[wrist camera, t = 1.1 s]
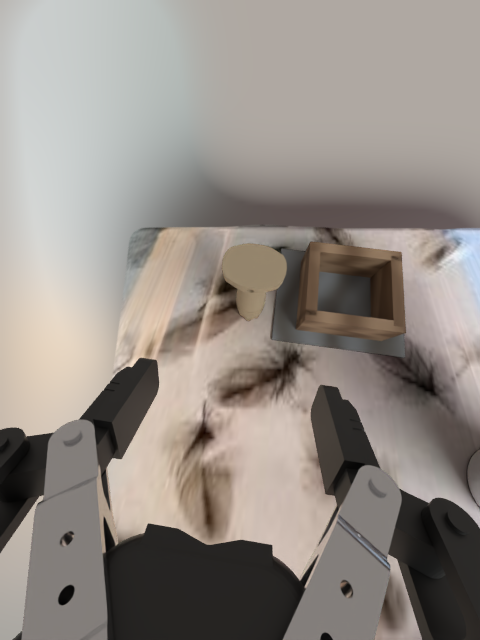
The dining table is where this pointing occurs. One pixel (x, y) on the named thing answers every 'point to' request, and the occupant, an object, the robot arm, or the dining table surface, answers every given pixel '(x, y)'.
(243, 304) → the handle
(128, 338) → the dining table surface
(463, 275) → the dining table surface
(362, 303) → the socket holder
